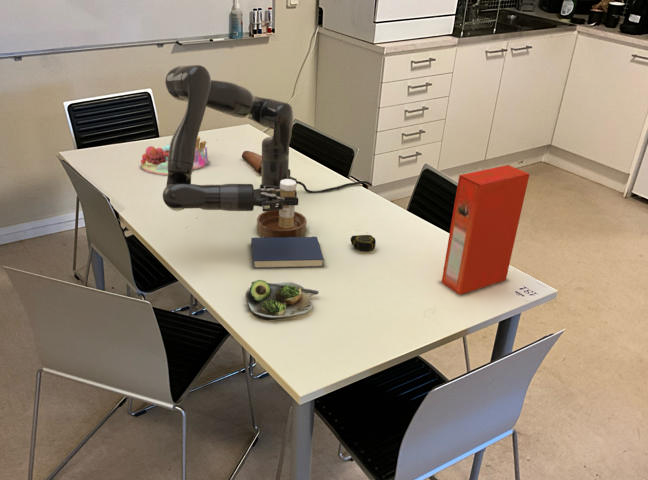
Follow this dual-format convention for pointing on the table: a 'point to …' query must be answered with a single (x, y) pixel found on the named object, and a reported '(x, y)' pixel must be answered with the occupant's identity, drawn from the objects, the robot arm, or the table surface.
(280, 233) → the bowl
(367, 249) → the tape measure
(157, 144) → the table surface
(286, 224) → the sprinkles bottle
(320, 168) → the table surface
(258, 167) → the sunglasses case
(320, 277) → the table surface
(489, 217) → the file binder
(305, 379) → the table surface
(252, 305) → the salad plate
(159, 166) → the colorful candy landscape
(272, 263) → the book
